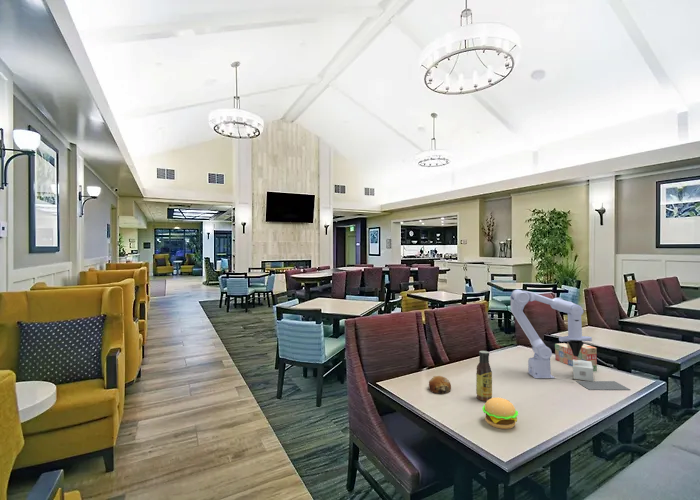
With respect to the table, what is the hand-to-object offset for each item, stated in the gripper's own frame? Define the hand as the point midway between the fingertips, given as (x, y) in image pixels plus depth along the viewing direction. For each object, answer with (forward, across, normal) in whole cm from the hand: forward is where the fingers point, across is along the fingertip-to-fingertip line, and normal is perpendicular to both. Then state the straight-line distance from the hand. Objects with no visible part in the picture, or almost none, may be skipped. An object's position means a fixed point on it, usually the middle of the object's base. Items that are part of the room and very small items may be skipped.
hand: (575, 355), depth 169 cm
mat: (+10, +5, -11) cm, 16 cm away
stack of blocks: (+11, +10, +18) cm, 23 cm away
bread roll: (+10, -69, -17) cm, 72 cm away
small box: (+7, 0, -5) cm, 9 cm away
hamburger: (+10, -53, -47) cm, 72 cm away
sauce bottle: (+10, -52, -26) cm, 59 cm away
